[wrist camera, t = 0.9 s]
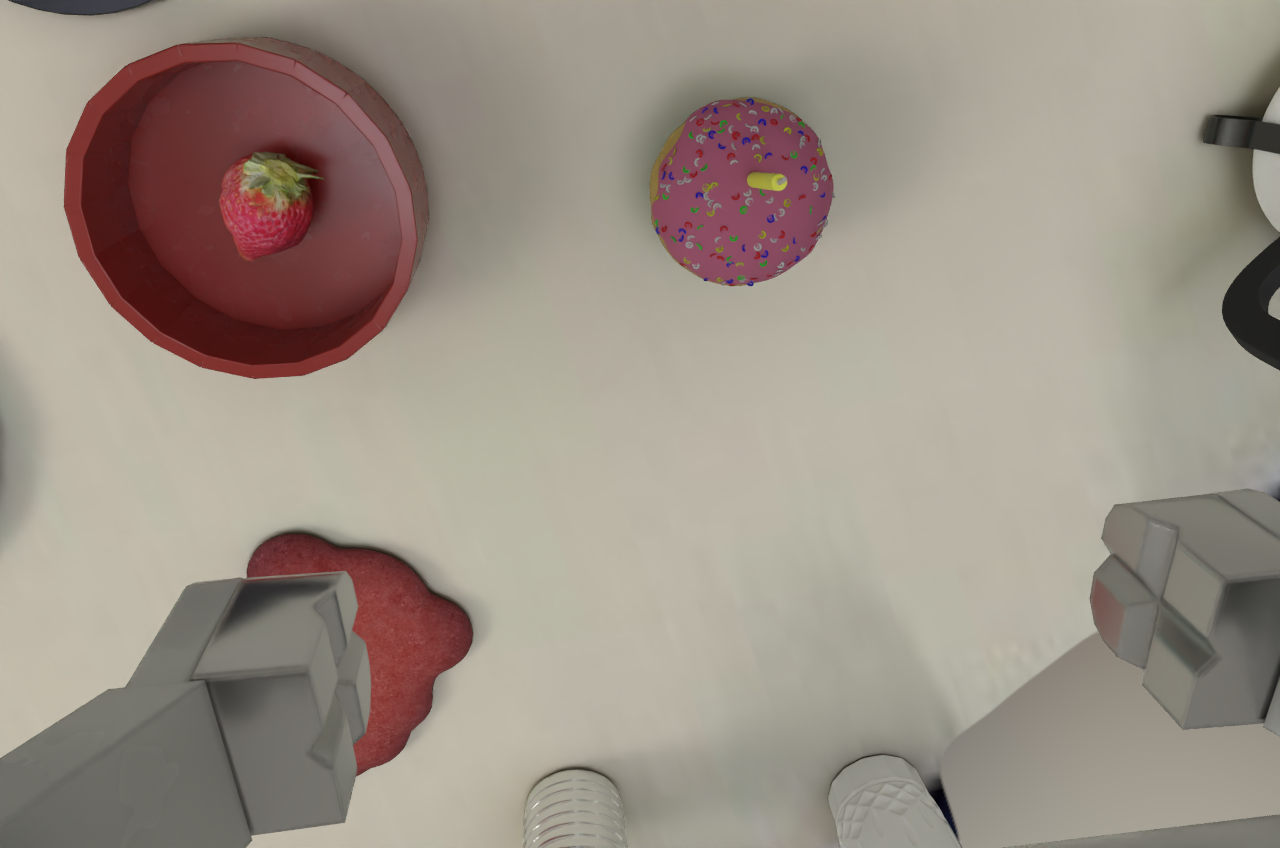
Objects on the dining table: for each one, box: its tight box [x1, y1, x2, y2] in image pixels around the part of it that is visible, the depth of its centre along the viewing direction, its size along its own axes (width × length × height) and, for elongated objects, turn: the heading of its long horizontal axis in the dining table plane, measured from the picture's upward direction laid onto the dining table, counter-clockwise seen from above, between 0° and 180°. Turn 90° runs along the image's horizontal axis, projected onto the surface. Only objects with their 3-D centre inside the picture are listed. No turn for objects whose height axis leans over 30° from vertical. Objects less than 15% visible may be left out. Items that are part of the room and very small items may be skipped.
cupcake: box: [650, 98, 835, 286], centre depth 41 cm, size 9×8×12 cm
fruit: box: [219, 152, 324, 261], centre depth 42 cm, size 4×6×5 cm
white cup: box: [828, 755, 962, 848], centre depth 61 cm, size 8×8×10 cm
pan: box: [64, 37, 429, 379], centre depth 42 cm, size 14×14×5 cm
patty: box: [247, 534, 473, 776], centre depth 55 cm, size 18×14×2 cm
